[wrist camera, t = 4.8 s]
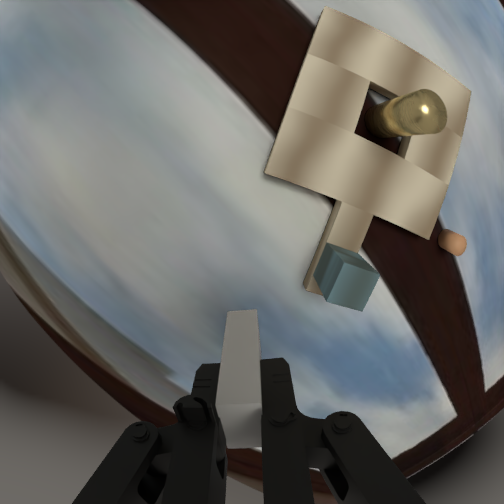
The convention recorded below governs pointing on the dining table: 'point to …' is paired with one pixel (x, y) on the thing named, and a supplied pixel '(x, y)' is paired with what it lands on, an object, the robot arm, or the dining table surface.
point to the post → (407, 115)
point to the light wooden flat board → (363, 148)
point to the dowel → (452, 242)
